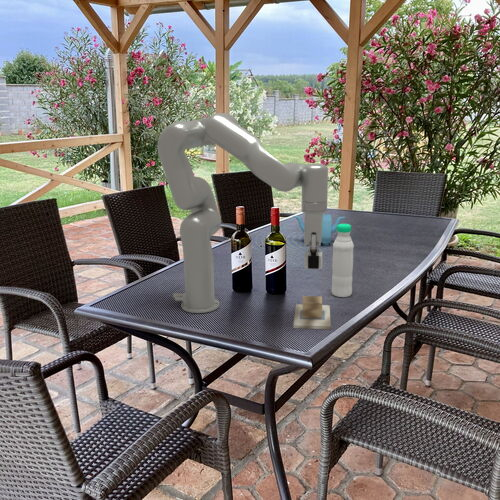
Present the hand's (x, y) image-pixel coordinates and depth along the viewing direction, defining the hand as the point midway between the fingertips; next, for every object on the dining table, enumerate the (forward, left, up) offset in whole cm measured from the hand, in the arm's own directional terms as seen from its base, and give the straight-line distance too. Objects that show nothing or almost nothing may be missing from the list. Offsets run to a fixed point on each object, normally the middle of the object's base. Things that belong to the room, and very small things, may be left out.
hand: (313, 264), depth 158 cm
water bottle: (+10, +22, -18) cm, 30 cm away
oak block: (0, 0, -16) cm, 16 cm away
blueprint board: (0, 0, -17) cm, 17 cm away
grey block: (0, 0, -1) cm, 1 cm away
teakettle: (+2, +94, -18) cm, 96 cm away
